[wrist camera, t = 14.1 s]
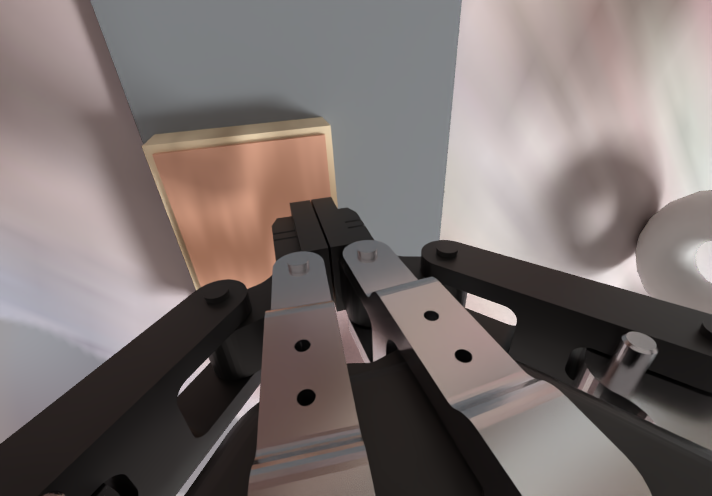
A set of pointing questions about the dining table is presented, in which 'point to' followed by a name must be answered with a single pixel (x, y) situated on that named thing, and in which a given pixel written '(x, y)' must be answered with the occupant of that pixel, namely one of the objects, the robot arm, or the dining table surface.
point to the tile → (238, 190)
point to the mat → (307, 87)
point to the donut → (677, 252)
